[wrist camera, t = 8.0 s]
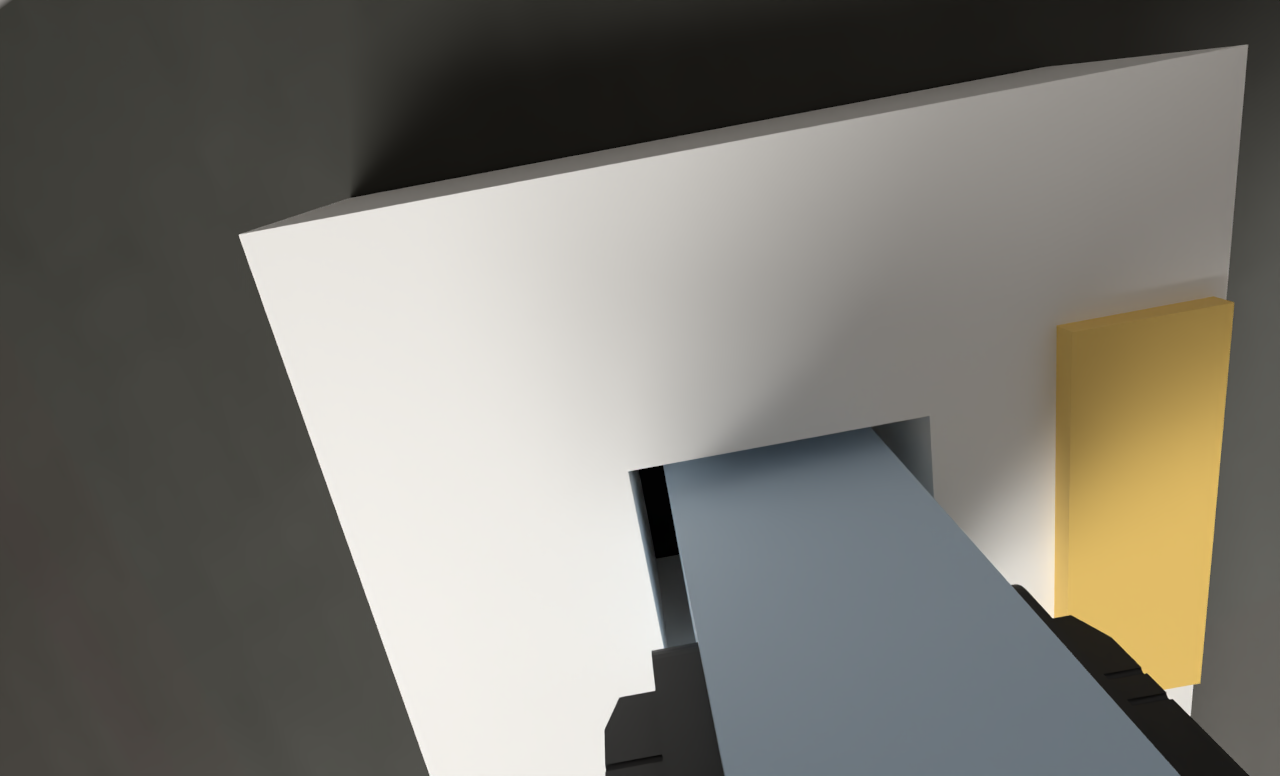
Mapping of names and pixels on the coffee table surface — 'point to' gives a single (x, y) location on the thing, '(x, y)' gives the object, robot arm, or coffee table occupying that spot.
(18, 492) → the coffee table surface
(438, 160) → the coffee table surface
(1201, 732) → the robot arm
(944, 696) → the plug
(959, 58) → the coffee table surface
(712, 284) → the port panel
